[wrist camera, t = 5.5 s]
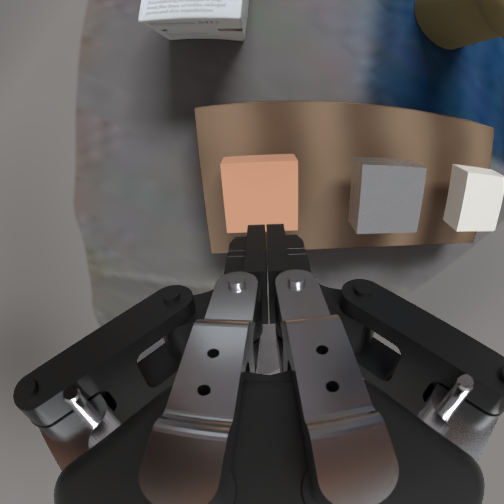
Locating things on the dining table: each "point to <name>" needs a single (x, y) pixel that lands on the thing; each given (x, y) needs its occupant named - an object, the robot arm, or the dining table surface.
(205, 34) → the skincare box
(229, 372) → the robot arm
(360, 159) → the grey key
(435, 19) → the olive rounded waisted cylinder
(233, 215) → the terracotta key
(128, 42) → the dining table surface
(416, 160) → the key panel
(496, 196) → the off-white key
